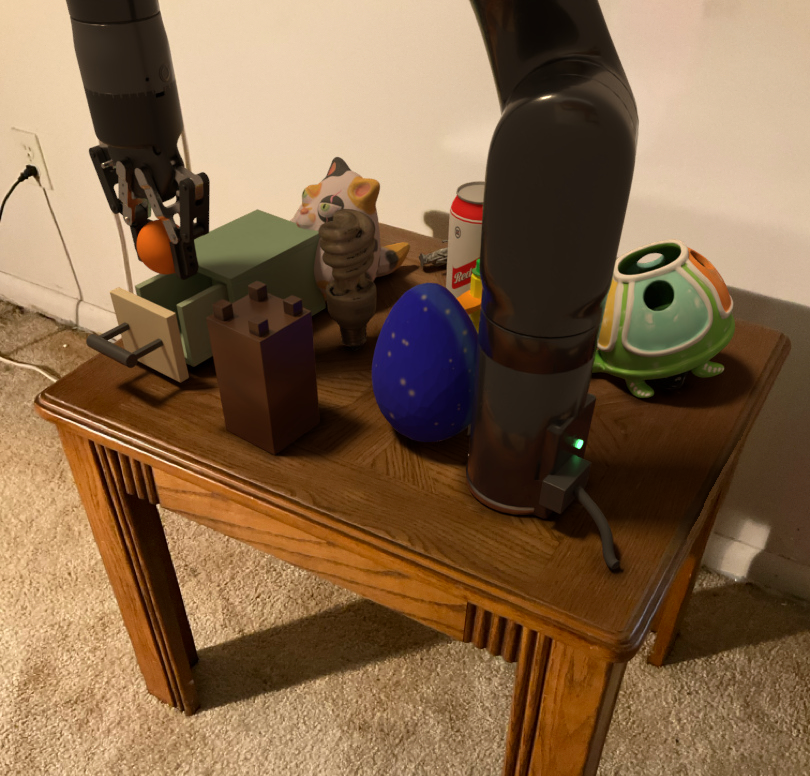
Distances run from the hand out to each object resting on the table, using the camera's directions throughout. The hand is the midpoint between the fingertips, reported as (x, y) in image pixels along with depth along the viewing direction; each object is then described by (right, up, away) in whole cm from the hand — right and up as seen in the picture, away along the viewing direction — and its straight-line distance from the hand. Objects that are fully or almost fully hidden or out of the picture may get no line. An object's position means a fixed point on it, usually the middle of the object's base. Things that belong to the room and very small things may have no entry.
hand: (168, 267), depth 80 cm
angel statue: (+28, +11, +23) cm, 38 cm away
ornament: (+25, -16, -1) cm, 30 cm away
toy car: (+51, -9, +6) cm, 53 cm away
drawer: (0, -7, +6) cm, 9 cm away
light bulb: (+17, -6, +9) cm, 21 cm away
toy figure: (+30, -9, +6) cm, 32 cm away
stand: (+11, -16, -1) cm, 19 cm away
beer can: (+31, -4, +11) cm, 33 cm away
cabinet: (+6, -2, +13) cm, 15 cm away
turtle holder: (+50, -9, +5) cm, 51 cm away
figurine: (+17, +4, +19) cm, 26 cm away
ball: (0, +1, -1) cm, 2 cm away
